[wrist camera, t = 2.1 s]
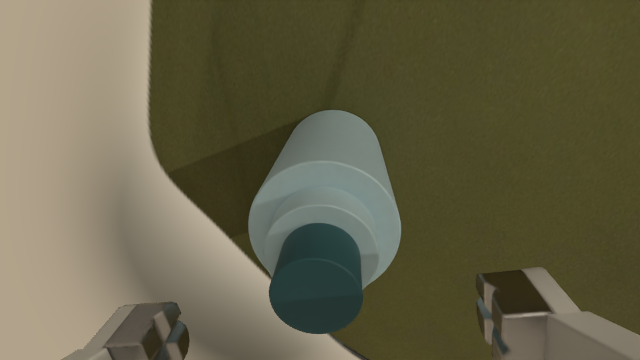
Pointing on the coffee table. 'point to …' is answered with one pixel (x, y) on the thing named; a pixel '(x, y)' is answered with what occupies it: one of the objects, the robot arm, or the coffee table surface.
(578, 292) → the coffee table surface
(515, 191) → the coffee table surface
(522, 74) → the coffee table surface
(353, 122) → the bottle
